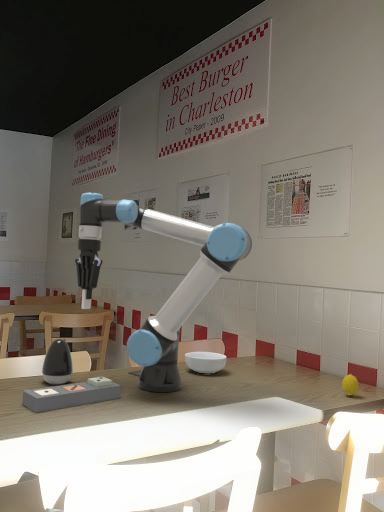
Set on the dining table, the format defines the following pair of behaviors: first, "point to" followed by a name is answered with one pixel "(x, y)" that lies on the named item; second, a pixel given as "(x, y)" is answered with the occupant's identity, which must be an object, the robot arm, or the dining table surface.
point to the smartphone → (135, 373)
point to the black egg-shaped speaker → (57, 363)
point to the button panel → (69, 396)
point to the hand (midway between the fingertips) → (86, 308)
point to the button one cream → (46, 392)
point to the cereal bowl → (205, 361)
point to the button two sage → (99, 382)
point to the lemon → (350, 384)
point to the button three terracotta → (73, 388)
